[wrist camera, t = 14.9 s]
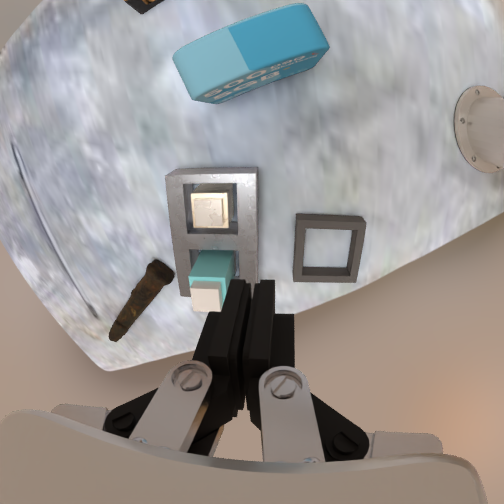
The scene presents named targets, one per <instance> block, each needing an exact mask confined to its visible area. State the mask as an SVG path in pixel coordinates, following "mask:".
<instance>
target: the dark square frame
mask: <svg viewBox="0 0 504 504" xmlns="http://www.w3.org/2000/svg"><path fill="white" fill-rule="evenodd" d="M305 228H313V229H341V230H352V237H351V244H350V251H349V257H348V263H347V268H328V267H302V266H303V254H304V241H305ZM365 229H366V222H365V220H364V219H363V218H362V217H359V216H339V215H316V214H296V227H295V244H294V260H293V282H335V283H356V280H357V275H358V270H359V265H360V259H361V254H362V248H363V242H364V235H365Z"/></svg>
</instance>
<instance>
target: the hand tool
mask: <svg viewBox="0 0 504 504" xmlns="http://www.w3.org/2000/svg"><path fill="white" fill-rule="evenodd" d="M173 278H174V274H173V271H172V270H171V269H169V268H168V267H167V266H166V265H165V264H164V263H162V262H160V261H158V260H154V261H152V263H149V264H148V266H147V268H146V273H145V276H144V277H143V278H142V279H141V281H140V282H139V283H138V284H137V286H136V287H135V289H133V290H132V292H131V297H130V298H129V300H128V302H127V303H126V305H125V306H124V308H123V309H122V311H121V312H120V314H119V315H118V318H117V319H116V320H115V322H114V324H113V325H112V327H111V330H110V332H109V339H110V340H111V341H114V342H117V341H118V340H119V339H121V338H122V336H123V335H125V334H126V332H127V331H128V329H129V328H130V327H131V325H132V324H133V323H134V322H135V320H136V319H137V318H138V317H139V316H140V315H141V313H142V312H143V311H144V310H145V309H146V307H147V306H148V305H149V304H150V303H151V301H152V300H153V299H154V298H155V297H156V295H157V294H158V293H159V292H160V291H161V289H162V288H163V286H164V285H168V284H170V283H171V282H172V280H173Z"/></svg>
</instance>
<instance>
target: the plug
mask: <svg viewBox="0 0 504 504" xmlns="http://www.w3.org/2000/svg"><path fill="white" fill-rule="evenodd" d="M235 273H236V255H235V250H201V252H200V254H199V256H198V258H197V260H196V262H195V264H194V266H193V268H192V270H191V272H190V274H189V276H188V277H189V284H190V291H191V298H192V304H193V311H202V312H210V311H217V312H221V309H222V306H223V303H224V300H225V296H226V293H227V290H228V287H229V283H230V280H231V279H234V277H235Z"/></svg>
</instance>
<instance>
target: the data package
mask: <svg viewBox="0 0 504 504" xmlns="http://www.w3.org/2000/svg"><path fill="white" fill-rule="evenodd" d="M328 49H329V44H328V42H327V40H326V38H325V36H324V34H323V32H322V30H321V28H320V27H319V25H318V23H317V21H316V19H315V17H314V16H313V14H312V12H311V10H310V8H309V7H308V5H306V4H303V3H295V4H290V5H286V6H283V7H279V8H276V9H273V10H270V11H267V12H264V13H261V14H258V15H255V16H252V17H249V18H247V19H244V20H241V21H239V22H236V23H234V24H231V25H229V26H226V27H224V28H221V29H219V30H217V31H215V32H212V33H210V34H208V35H206V36H204V37H201V38H199V39H197V40H195V41H193V42H191V43H189V44H187V45H185V46H183V47H182V48H180V49H179V50H177V51H176V52H175V53H174V55H173V61H174V63H175V65H176V68H177V70H178V72H179V74H180V76H181V78H182V80H183V82H184V84H185V86H186V88H187V90H188V93H189V95H190V97H191V99H192V100H195V101H201V102H206V103H212V104H219V103H222V102H225V101H227V100H229V99H232V98H234V97H236V96H239V95H241V94H243V93H246V92H248V91H251V90H253V89H256V88H258V87H261V86H263V85H266V84H269V83H271V82H274V81H277V80H280V79H282V78H285V77H288V76H291V75H294V74H297V73H300V72H303V71H306V70H308V69H311V68H312V67H314V66H315V65H316V63H317V62H318V61H319V60H320V59H321V58H322V56H323V55H324V54H325V53H326V52H327V51H328Z"/></svg>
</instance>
